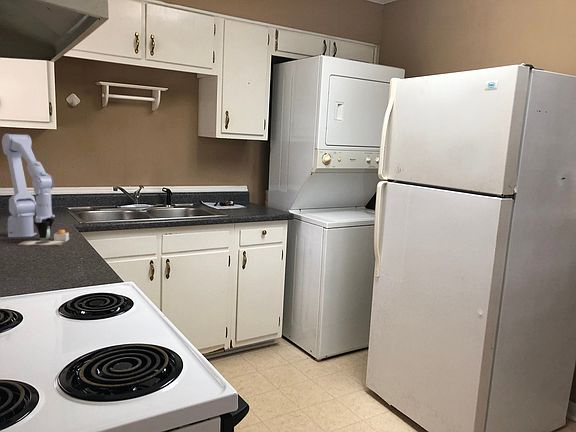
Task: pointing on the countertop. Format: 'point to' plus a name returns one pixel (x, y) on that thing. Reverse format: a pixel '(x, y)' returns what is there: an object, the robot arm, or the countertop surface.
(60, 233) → the button
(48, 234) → the ink stamp
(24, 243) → the sketch pad
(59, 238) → the button box
